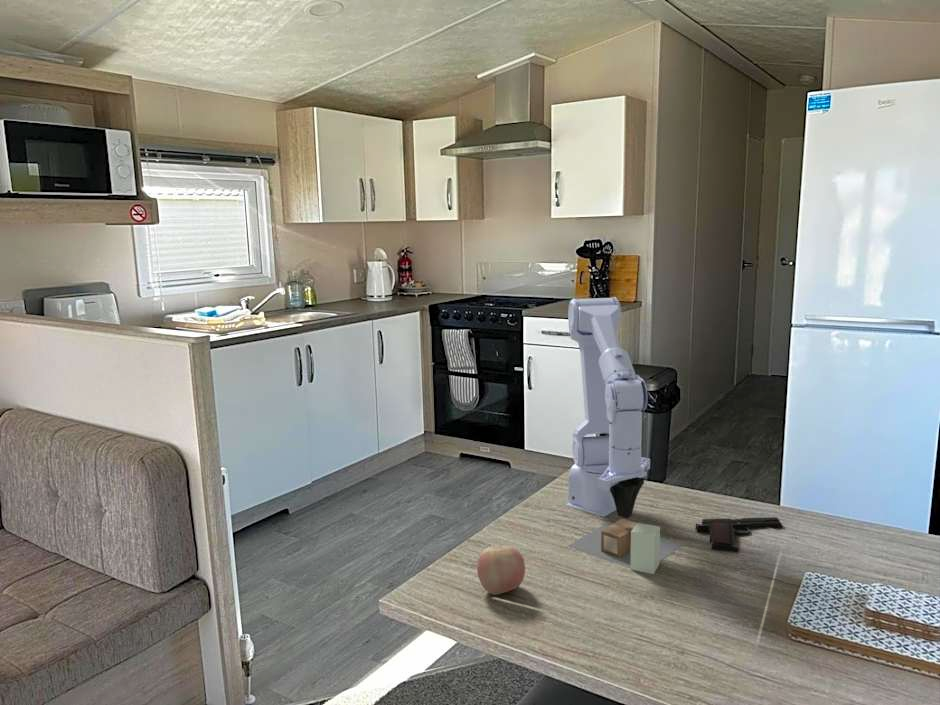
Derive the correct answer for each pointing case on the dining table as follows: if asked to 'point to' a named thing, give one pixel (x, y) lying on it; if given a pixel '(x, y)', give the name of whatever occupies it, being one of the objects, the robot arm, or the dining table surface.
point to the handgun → (733, 530)
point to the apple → (500, 569)
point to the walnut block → (617, 538)
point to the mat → (593, 546)
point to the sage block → (645, 548)
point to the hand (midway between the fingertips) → (624, 515)
